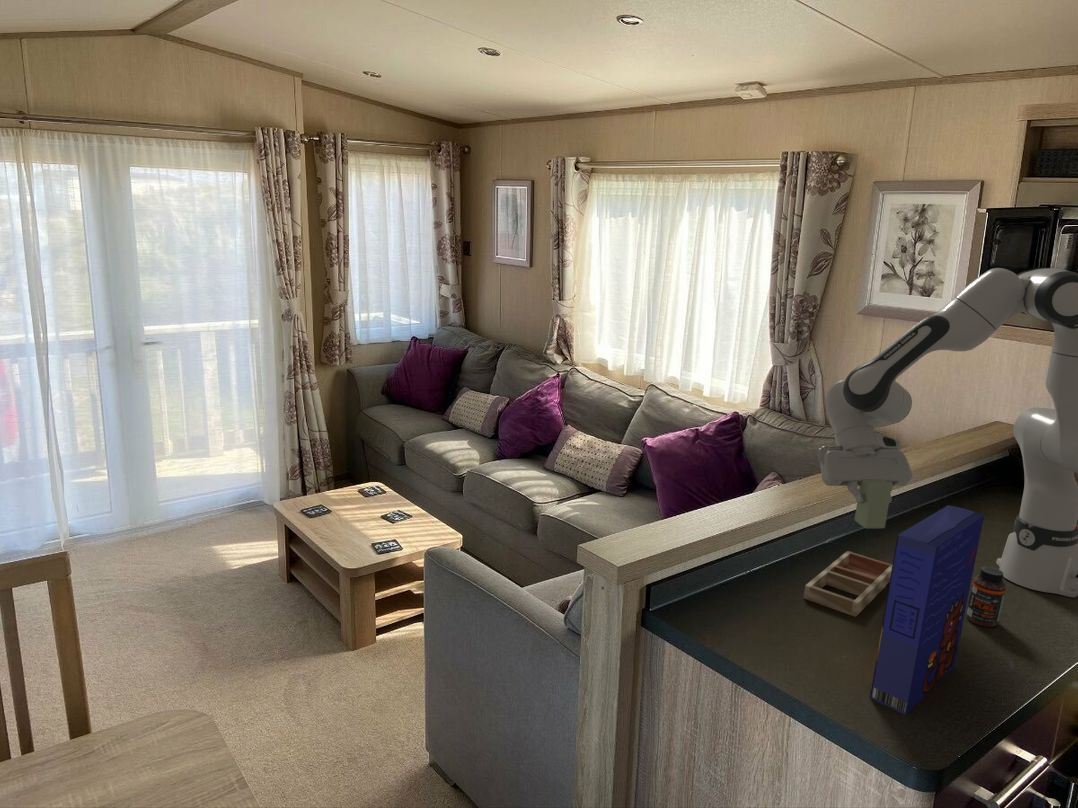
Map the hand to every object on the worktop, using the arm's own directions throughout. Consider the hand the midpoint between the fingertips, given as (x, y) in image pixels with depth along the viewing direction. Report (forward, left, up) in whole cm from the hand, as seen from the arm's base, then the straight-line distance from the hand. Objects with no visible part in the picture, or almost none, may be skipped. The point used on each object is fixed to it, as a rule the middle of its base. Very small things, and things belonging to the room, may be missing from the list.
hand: (874, 502), depth 176 cm
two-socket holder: (+6, +3, -18) cm, 19 cm away
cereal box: (+22, +35, -19) cm, 45 cm away
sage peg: (0, -1, -5) cm, 5 cm away
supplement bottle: (-10, +23, -19) cm, 31 cm away
